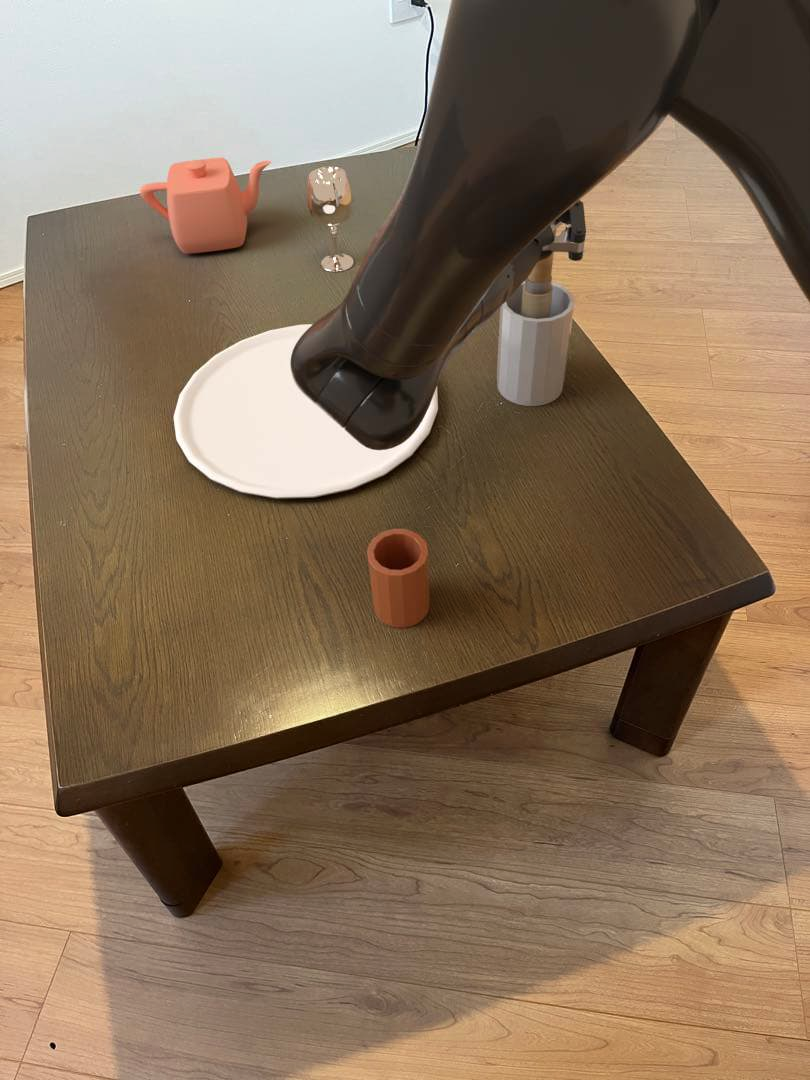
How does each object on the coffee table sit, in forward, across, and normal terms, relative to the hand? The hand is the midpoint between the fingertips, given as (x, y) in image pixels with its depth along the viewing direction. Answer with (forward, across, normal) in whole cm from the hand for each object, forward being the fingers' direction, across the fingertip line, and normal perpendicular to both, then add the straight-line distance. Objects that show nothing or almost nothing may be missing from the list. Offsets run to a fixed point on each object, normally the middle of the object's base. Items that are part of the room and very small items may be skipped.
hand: (560, 183), depth 78 cm
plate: (-18, +20, +22) cm, 35 cm away
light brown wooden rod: (-3, 0, +14) cm, 15 cm away
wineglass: (+8, +34, +22) cm, 41 cm away
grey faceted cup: (-3, 0, +22) cm, 22 cm away
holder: (-36, -4, +22) cm, 42 cm away
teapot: (+6, +53, +22) cm, 58 cm away
